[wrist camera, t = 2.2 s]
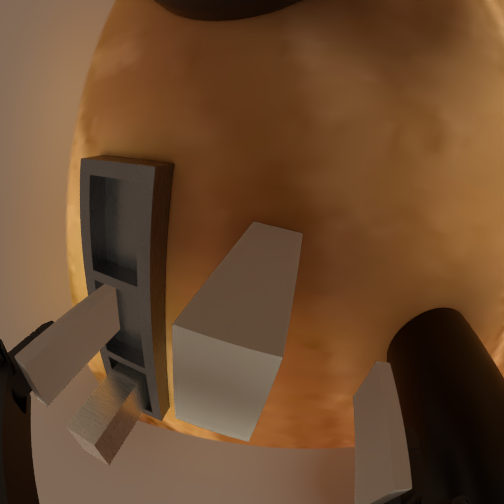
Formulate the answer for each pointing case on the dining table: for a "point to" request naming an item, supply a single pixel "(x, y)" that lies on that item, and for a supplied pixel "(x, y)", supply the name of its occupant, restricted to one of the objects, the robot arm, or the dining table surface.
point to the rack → (126, 294)
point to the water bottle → (451, 405)
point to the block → (236, 333)
